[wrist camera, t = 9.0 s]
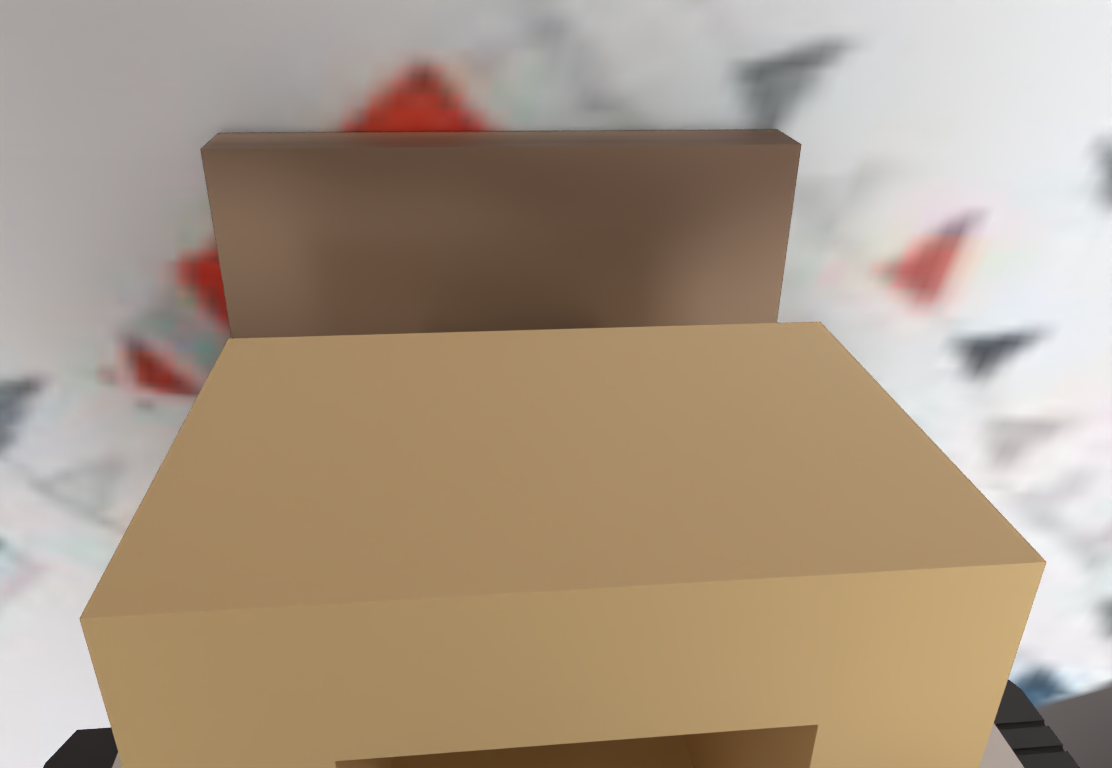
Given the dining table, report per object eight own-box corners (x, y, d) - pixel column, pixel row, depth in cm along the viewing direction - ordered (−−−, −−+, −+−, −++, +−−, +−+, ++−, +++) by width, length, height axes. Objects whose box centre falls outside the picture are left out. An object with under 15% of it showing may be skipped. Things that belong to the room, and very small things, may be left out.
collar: (227, 338, 13) (79, 618, 8) (820, 321, 14) (1047, 562, 9) (298, 767, 17) (232, 1143, 12) (753, 732, 18) (880, 1065, 13)
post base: (218, 132, 19) (90, 249, 12) (777, 129, 20) (941, 232, 13) (288, 587, 24) (227, 838, 18) (723, 562, 25) (820, 789, 19)
